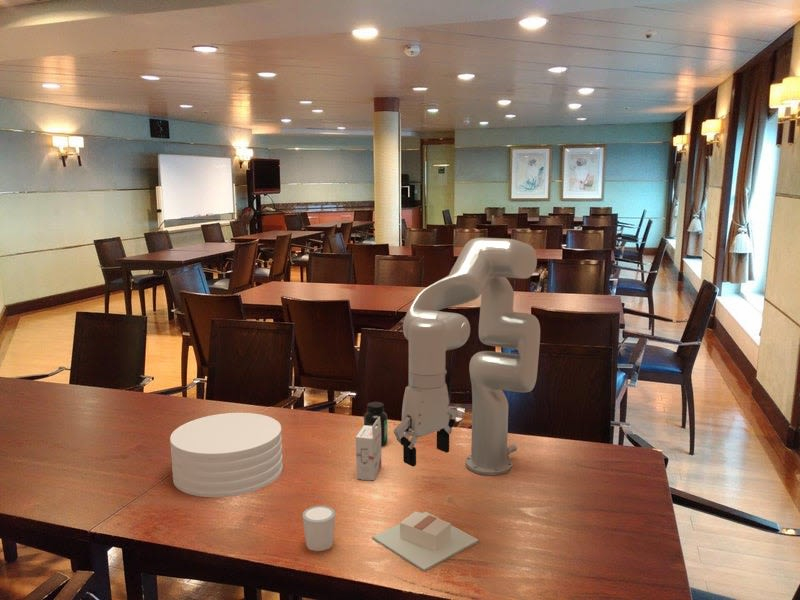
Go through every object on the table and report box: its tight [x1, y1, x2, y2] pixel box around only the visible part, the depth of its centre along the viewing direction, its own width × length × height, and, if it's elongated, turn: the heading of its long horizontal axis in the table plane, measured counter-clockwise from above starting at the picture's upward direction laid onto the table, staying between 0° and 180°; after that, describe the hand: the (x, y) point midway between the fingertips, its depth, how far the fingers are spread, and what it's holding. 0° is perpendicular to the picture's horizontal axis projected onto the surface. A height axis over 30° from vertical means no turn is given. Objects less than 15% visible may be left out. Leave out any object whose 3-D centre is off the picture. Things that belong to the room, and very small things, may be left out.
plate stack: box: [169, 412, 284, 498], centre depth 168 cm, size 28×28×12 cm
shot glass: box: [302, 505, 336, 552], centre depth 135 cm, size 7×7×7 cm
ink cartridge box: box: [355, 416, 382, 481], centre depth 167 cm, size 9×5×15 cm, turn 168°
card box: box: [399, 510, 452, 551], centre depth 136 cm, size 9×6×4 cm, turn 55°
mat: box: [371, 511, 479, 573], centre depth 137 cm, size 16×16×1 cm
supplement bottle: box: [363, 401, 388, 448], centre depth 187 cm, size 7×7×12 cm
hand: (426, 457), depth 134 cm, fingers open, 9 cm apart
